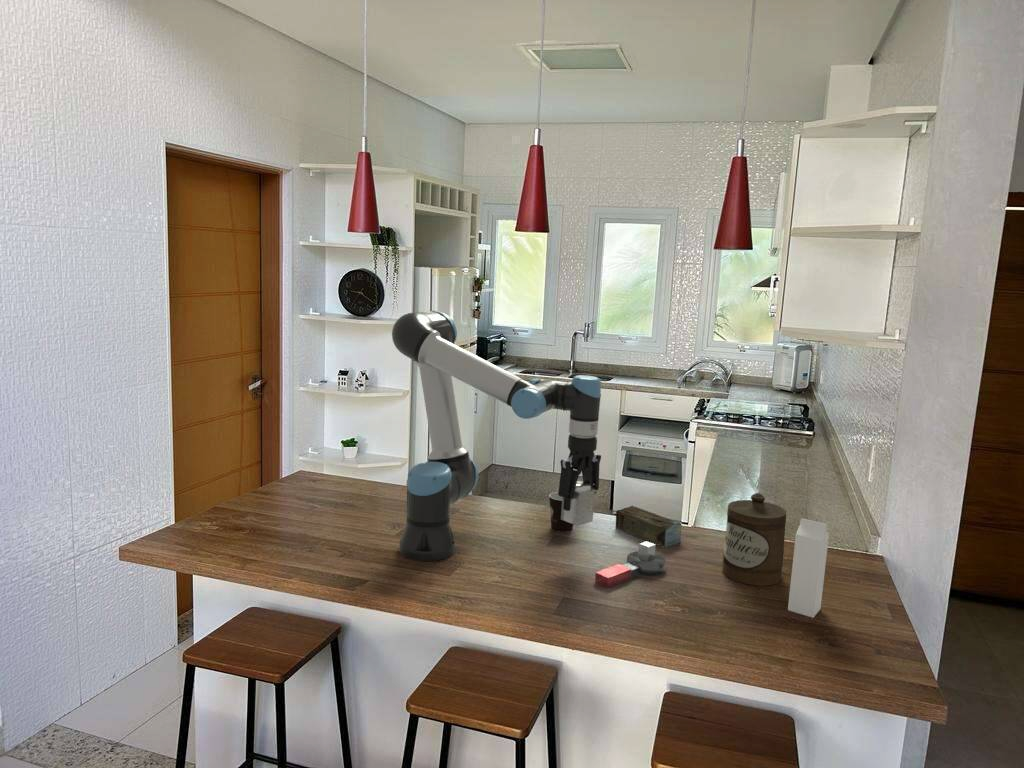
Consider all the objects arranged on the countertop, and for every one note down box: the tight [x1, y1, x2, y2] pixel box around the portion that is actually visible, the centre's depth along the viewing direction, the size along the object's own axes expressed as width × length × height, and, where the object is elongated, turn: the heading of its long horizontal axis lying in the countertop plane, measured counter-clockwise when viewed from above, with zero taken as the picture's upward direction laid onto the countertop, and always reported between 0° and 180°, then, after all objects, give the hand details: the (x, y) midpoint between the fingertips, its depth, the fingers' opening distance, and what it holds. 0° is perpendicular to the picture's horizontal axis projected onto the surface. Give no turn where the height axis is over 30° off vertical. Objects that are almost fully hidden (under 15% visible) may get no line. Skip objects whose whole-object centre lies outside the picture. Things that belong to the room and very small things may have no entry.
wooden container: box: [721, 492, 787, 587], centre depth 198 cm, size 15×15×22 cm
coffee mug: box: [548, 491, 574, 533], centre depth 229 cm, size 12×9×10 cm
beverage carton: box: [615, 505, 683, 548], centre depth 225 cm, size 8×19×7 cm, turn 41°
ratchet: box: [594, 540, 667, 589], centre depth 196 cm, size 23×10×6 cm, turn 133°
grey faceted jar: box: [561, 480, 596, 527], centre depth 202 cm, size 6×6×10 cm
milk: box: [787, 518, 830, 618], centre depth 178 cm, size 6×6×22 cm
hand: (576, 518), depth 203 cm, fingers closed on grey faceted jar, 6 cm apart
